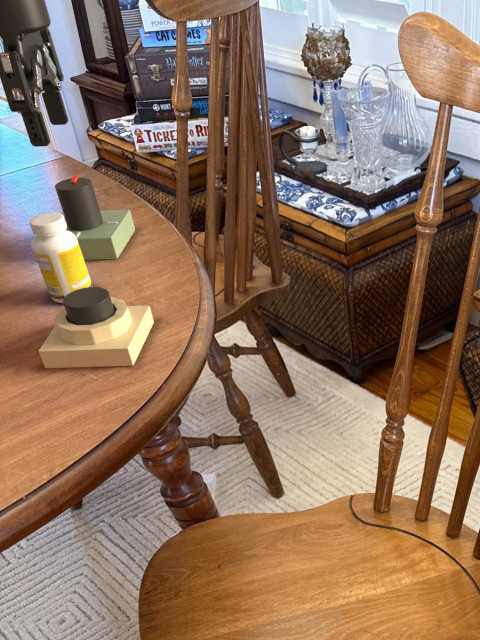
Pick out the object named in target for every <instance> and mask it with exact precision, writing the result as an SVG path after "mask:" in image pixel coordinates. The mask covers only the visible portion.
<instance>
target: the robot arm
mask: <svg viewBox="0 0 480 640" xmlns="http://www.w3.org/2000/svg"><path fill="white" fill-rule="evenodd" d="M50 26H51V17H50V13H49V11H48V5H47V3H46V0H0V39H1V41H2V46H3V47H2V48H3V52H2V51H1V52H0V83H1V85H2V89H3V92H4V95H5V98H6V101H7V105H8V107H9V110H10V112H11V113H18V114H20V115H21V118H22V121H23V124H24V127H25V130H26V133H27V136H28V139H29V142H30V144H31V146H33V147H35V148H36V147H37V148H38V147H48V146H49V145H50V144H51V139H50V135H49V132H48V128H47V126H46V122H45V119H44V115H43V113H42V111H41V104H40V103H41V102H40V94H41V98H42V100H43V104H44V108H45V110H46V113H47V117H48V120H49V122H50V124H51V125H52V126H65V125H67V124H68V122H69V117H68V114H67V110H66V107H65V103H64V100H63V96H62V92H61V91H62V83H61V82H64V74H63V71H62V68H61V65H60V61H59V57H58V54H57V51H56V48H55V44H54V41H53V38H52V34H51V31H50V29H49V27H50Z"/></svg>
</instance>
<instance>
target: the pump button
mask: <svg viewBox="0 0 480 640" xmlns="http://www.w3.org/2000/svg"><path fill="white" fill-rule="evenodd" d="M110 297H111V296H110V293H109V290H108V289H106V288H104V287H100V286H93V287H87V288H82V289H78V290H75V291H73V292H71V293H69V294H68V295H66V296H65V297H64V299H63V303H62V304H63V308H64V307H65V309H66V312H67V315H68V318H69V321H70V322H71V323H72V324H75V325H92V324H96V323H100V322H103V321H105V320H107V319H109V318H110V317H112V316H114V314H115V311H114V308H113V304H112V301H111V298H110Z"/></svg>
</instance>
